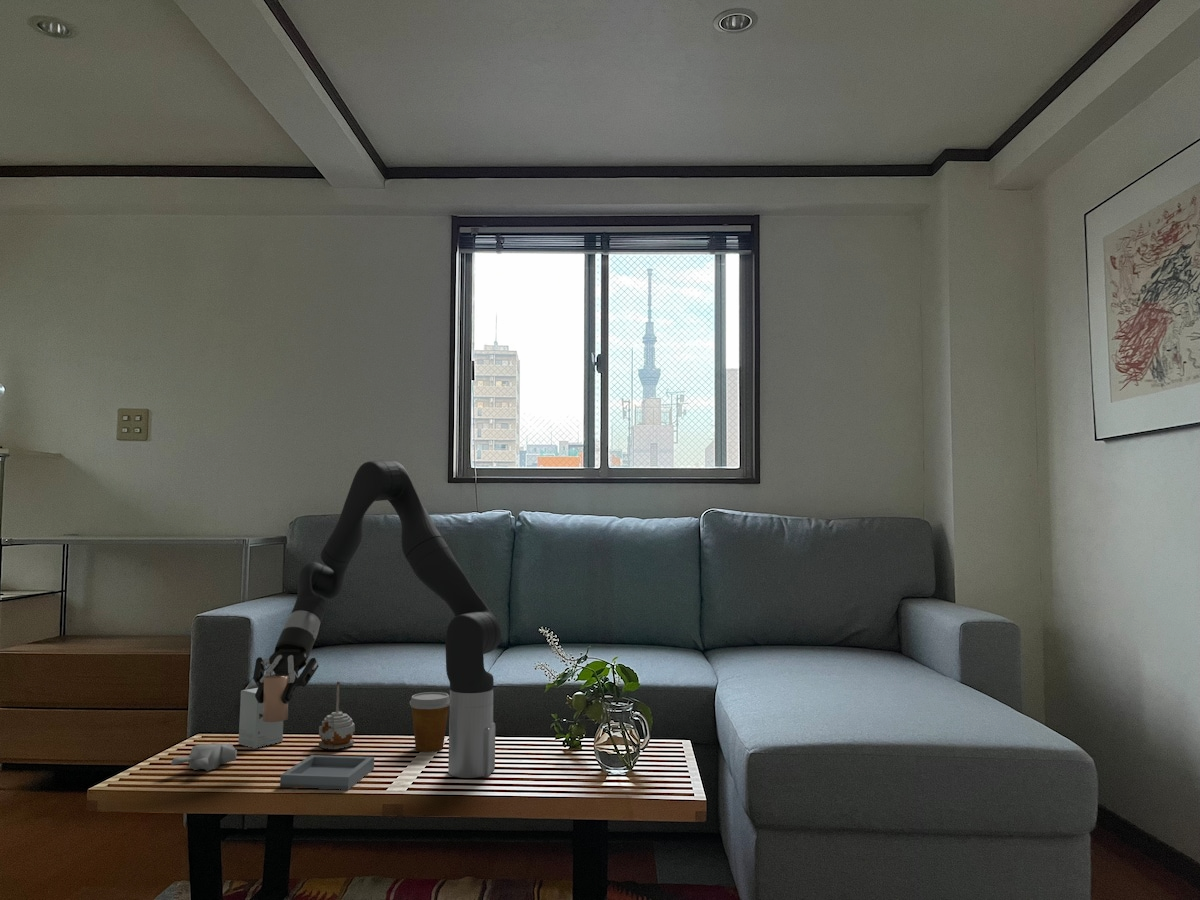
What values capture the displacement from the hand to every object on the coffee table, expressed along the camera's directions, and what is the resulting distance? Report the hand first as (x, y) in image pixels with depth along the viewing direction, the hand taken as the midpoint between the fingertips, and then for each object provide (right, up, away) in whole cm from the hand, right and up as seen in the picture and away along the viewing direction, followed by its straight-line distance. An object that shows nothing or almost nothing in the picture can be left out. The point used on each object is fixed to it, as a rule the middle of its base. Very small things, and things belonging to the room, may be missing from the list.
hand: (271, 701), depth 177 cm
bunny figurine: (-15, -15, +2) cm, 21 cm away
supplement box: (-11, -17, +22) cm, 30 cm away
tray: (+14, -15, -5) cm, 20 cm away
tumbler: (0, -4, +1) cm, 5 cm away
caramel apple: (+8, -17, +19) cm, 27 cm away
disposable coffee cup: (+30, -17, +18) cm, 38 cm away
